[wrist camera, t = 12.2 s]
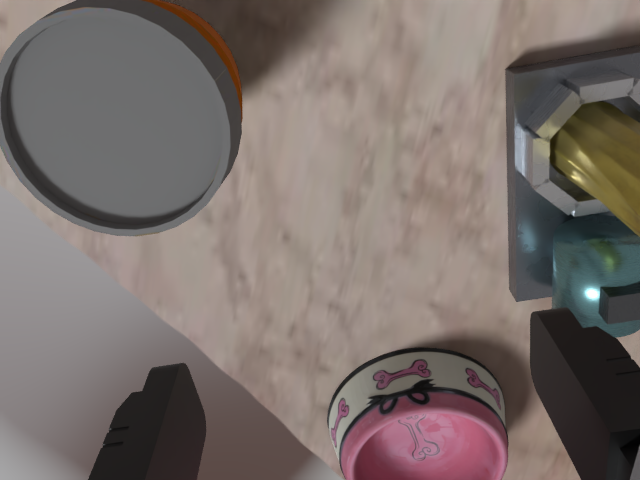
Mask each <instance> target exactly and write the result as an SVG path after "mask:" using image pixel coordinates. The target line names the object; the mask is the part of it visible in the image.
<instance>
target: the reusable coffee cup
mask: <svg viewBox="0 0 640 480" xmlns="http://www.w3.org/2000/svg"><path fill="white" fill-rule="evenodd" d="M241 123H242V92H241V82H240V77H239V73H238V68H237V65H236V63H235V61H234V58H233V56H232V53H231V51H230V50H229V48H228V47H227V45H226V44H225V42H224V40H223V39H222V37H221V36H220V35H219V34H218V33H217V32H216V31H215V30H214V29H213V28H212V27H211V26H210V24H209V23H207V22H206V21H205V20H203V19H202V18H200V17H199V16H198V15H196V14H195V13H194V12H191V11H189V10H187V9H185V8H183V7H181V6H179V5H176V4H172V3H168V2H164V1H161V0H76V1H74V2H72V3H69V4H67V5H64V6H62V7H60V8H57V9H56V10H54V11H53V12H51V13H49V14H48V15H46V16H45V17H43V18H41V19H40V20H38V21H37V22H36V23H34V24H33V25H32V26H30V27H29V28H28V29H26V30H25V31H24V32H22V33H21V34H20V35H19V36H18V37H17V38H16V40H15V41H14V42H13V43H12V45H11V46H10V47H9V48H8V49H7V51H6V52H5V54H4V56H3V58H2V61H1V63H0V146H1V149H2V151H3V153H4V156H5V158H6V160H7V162H8V164H9V165H10V167H11V168H12V170H13V171H14V173H15V174H16V176H17V177H18V179H19V180H20V181H21V182H22V184H23V185H24V186H25V187H26V188H27V189H28V190H29V191H30V192H31V193H32V194H33V195H34V197H35V198H37V199H38V200H39V201H40V202H42V203H43V204H44V205H45V206H47V207H48V208H49V209H50V210H52V211H53V212H54V213H56V214H58V215H60V216H62V217H63V218H65V219H67V220H69V221H70V222H72V223H74V224H77V225H79V226H82V227H85V228H87V229H90V230H93V231H96V232H101V233H106V234H111V235H116V236H142V235H149V234H156V233H160V232H163V231H166V230H168V229H171V228H174V227H177V226H179V225H180V224H182V223H184V222H185V221H187V220H189V219H190V218H192V217H194V216H195V215H196V214H197V213H198V212H199V211H200V210H201V209H202V208H203V207H205V206H206V205H207V204H208V202H209V201H210V200H211V198H212V197H213V195H214V194H215V193H216V191H217V190H218V188H219V187H220V185H221V184H222V183H223V181H224V180H225V178H226V177H227V175H228V174H229V173H230V171H231V168H232V166H233V164H234V161H235V159H236V157H237V154H238V150H239V144H240V139H241V134H242V129H241Z"/></svg>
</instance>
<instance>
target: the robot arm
mask: <svg viewBox="0 0 640 480" xmlns="http://www.w3.org/2000/svg"><path fill="white" fill-rule="evenodd" d="M530 368H531V375H532V379H533V383H534V386H535V389H536V391H537V393H538V395H539V397H540V399H541V401H542V403H543V405H544V407H545V409H546V411H547V413H548V415H549V417H550V419H551V421H552V423H553V425H554V427H555V429H556V431H557V433H558V435H559V437H560V439H561V441H562V443H563V445H564V447H565V449H566V451H567V452H568V454H569V456H570V458H571V460H572V462H573V464H574V466H575V468H576V470H577V472H578V474H579V476H580V478H581V480H640V368H639V366H638V365H637V364H636V362H635V361H634V360H632V359H631V356H630V355H629V353H628V352H627V351H626V350H625V348H624V347H623V346H622V344H621V343H620V342H619V341H618V339H616V338H615V337H613V336H612V335H610V334H608V333H607V332H605V331H604V330H602V329H600V328H599V327H597V326H593V327H586V328H583V327H582V326H581V324H580V323H579V322H578V320H577V319H576V317H575V316H574V315H573V313H572V312H571V311H570V309H569V308H567V307H563V308H556V309H550V310H543V311H536V312H532V314H531V318H530ZM205 437H206V420H205V414H204V410H203V407H202V404H201V402H200V399H199V396H198V393H197V390H196V388H195V385H194V382H193V379H192V377H191V374H190V371H189V369H188V367H187V365H186V364H184V363H180V364H173V365H166V366H159V367H154V368H152V369H151V370H150V372H149V374H148V377H147V380H146V383H145V385H144V388H143V391H140V392H133V393H131V394H130V395H129V397H128V398H127V399H126V400H125V401H124V402H123V404H122V405H121V406H120V407H119V408H118V409H117V411H116V413H115V415H114V418H113V420H112V423H111V425H110V428H109V433H107V435H106V437H105V440H104V442H103V448H101V450H100V452H99V454H98V457H97V459H96V462H95V464H94V467H93V469H92V471H91V474H90V476H89V479H88V480H197V475H198V471H199V466H200V461H201V456H202V451H203V447H204V442H205Z"/></svg>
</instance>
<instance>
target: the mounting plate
mask: <svg viewBox="0 0 640 480" xmlns="http://www.w3.org/2000/svg"><path fill="white" fill-rule="evenodd" d="M590 102H606V103H609V104H612V105H614V106H616V107H617V108H618V109H620V110H621V111H622V112H623V113H624V114H626V115H628V116H629V117H631V118H632V119H634V120H635V121H637V122H639V123H640V45H639V46H633V47H627V48H622V49H616V50H610V51H605V52H599V53H593V54H588V55H582V56H576V57H571V58H565V59H559V60H554V61H548V62H542V63H537V64H531V65H525V66H520V67H514V68H508V69H506V126H507V183H508V241H509V290H510V292H511V293H512V295H513V297H514V298H515V300H516V302H519V301H525V300H532V299H539V298H545V297H552V309H556V308H563V307H567V308H569V309H570V311H571V312H572V313H573V315H574V316H575V317H576V319H577V320H578V322H579V323H580V324H581V326H582V327H583V328H586V327H593V326H597V327H599V328H600V329H602V330H604V331H605V332H607V333H608V334H610V335H612V336H613V337H622V336H626V335H630V334H632V333H635V332H636V331H638V330H639V329H640V237H639V236H638V235H637V234H636V233H634V232H633V231H632V230H631V229H630V228H629V227H628V226H627V225H625V224H624V223H623V222H622V221H621V220H620V219H619V218H618V217H616V216H615V215H614V214H613V213H612V212H611V211H610V210H609V209H608V208H607V207H606V206H605V205H604V204H603V203H602V202H601V201H599V200H598V199H596V198H595V197H593V196H592V195H591V194H589V193H588V192H586V191H585V190H583V189H582V188H580V187H579V186H578V185H576V184H575V183H573V182H572V181H570V180H569V179H567V178H566V177H565V176H563V175H561V174H559V173H558V172H557V171H556V170H555V169H554V167H553V166H552V165H551V163H550V160H549V157H550V139H551V138H552V137H553V136H554V135H555V134H556V132H557V131H558V130H559V129H560V128H561V127H562V126H563V125H564V124H565V123H566V122H567V120H568V119H569V118H570V117H571V116H572V115H573V114H574V113H575V112H576V111H577V110H578V108H579V107H580V106H581V105H582V104H585V103H590Z"/></svg>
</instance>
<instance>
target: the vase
mask: <svg viewBox="0 0 640 480" xmlns="http://www.w3.org/2000/svg"><path fill="white" fill-rule="evenodd" d="M549 160H550V163H551V165H552V166H553V167H554V169H555V170H556V171H557V172H558V173H559V174H561V175H563V176H565V177H566V178H567V179H569V180H570V181H572V182H573V183H575V184H576V185H578V186H579V187H580V188H582V189H583V190H585V191H586V192H588V193H589V194H591V195H592V196H593V197H595V198H596V199H598V200H599V201H601V202H602V203H603V204H604V205H605V206H606V207H607V208H608V209H609V210H610V211H611V212H612V213H613V214H614V215H615V216H616V217H618V218H619V219H620V220H621V221H622V222H623V223H624V224H625V225H627V226H628V227H629V228H630V229H631V230H632V231H633V232H634V233H636V234H637V235H638V236H639V237H640V123H639V122H637V121H635V120H634V119H632V118H631V117H629V116H628V115H626V114H624V113H623V112H622V111H621V110H620V109H618V108H617V107H616V106H614V105H612V104H609V103H606V102H590V103H585V104H582V105H581V106H580V107H579V108H578V110H577V111H576V112H575V113H574V114H573V115H572V116H571V117H570V118H569V119H568V120H567V122H566V123H565V124H564V125H563V126H562V127H561V128H560V129H559V130H558V131H557V132H556V134H555V135H554V136H553V137H552V138H551V139H550V157H549Z"/></svg>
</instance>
